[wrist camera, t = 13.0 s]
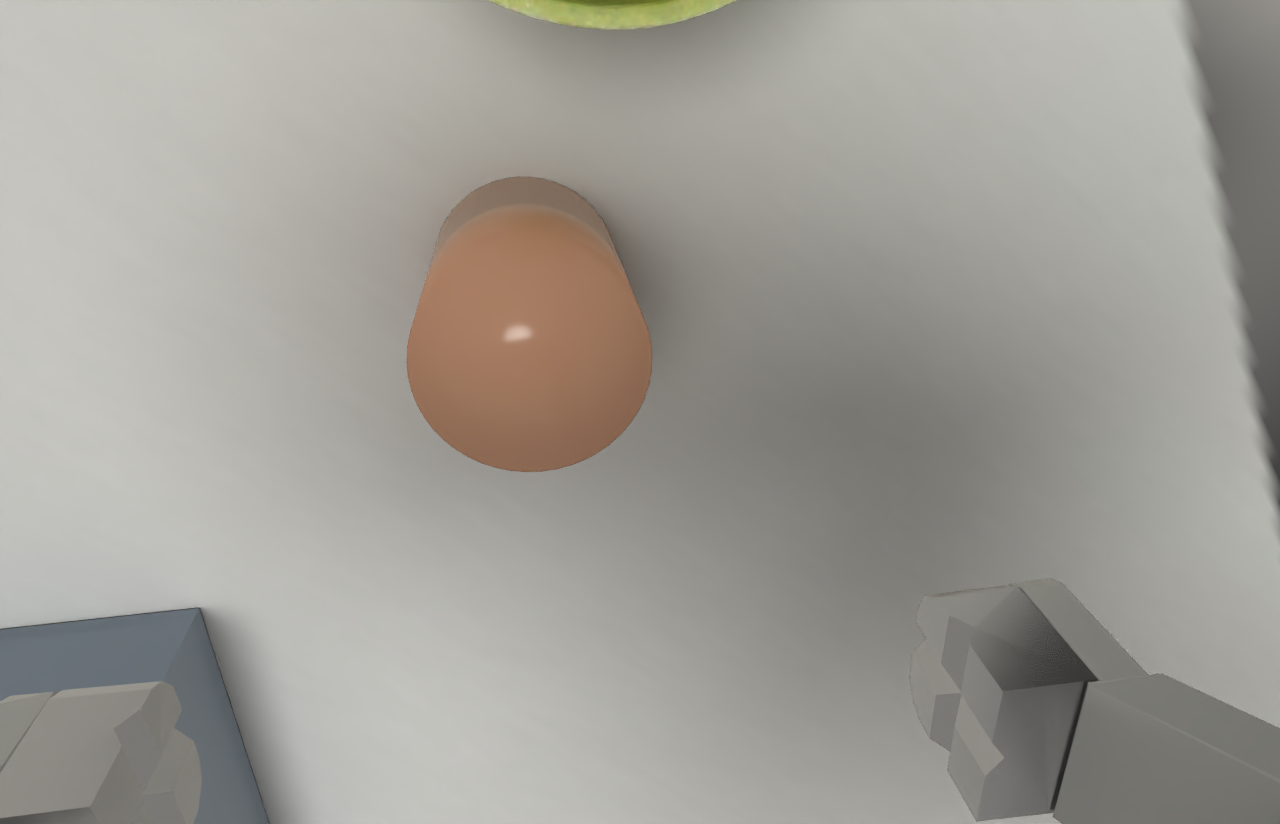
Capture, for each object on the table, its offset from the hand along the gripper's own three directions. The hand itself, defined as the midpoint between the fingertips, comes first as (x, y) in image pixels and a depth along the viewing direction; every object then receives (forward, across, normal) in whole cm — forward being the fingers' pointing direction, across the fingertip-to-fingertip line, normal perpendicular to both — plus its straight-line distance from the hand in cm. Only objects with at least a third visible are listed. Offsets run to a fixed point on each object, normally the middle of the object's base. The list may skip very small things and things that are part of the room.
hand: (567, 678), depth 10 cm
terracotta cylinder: (+16, 0, 0) cm, 16 cm away
